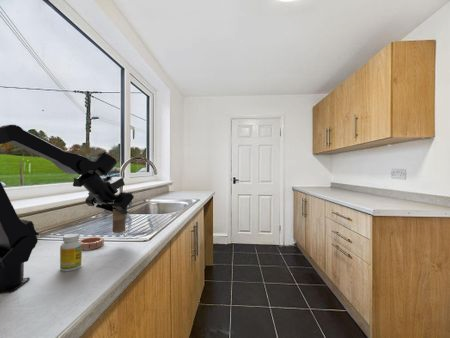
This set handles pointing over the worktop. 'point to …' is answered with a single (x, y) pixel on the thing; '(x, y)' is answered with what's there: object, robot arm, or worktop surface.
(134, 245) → the worktop surface
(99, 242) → the ring
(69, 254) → the supplement bottle
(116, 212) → the brown cylinder
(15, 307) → the worktop surface
